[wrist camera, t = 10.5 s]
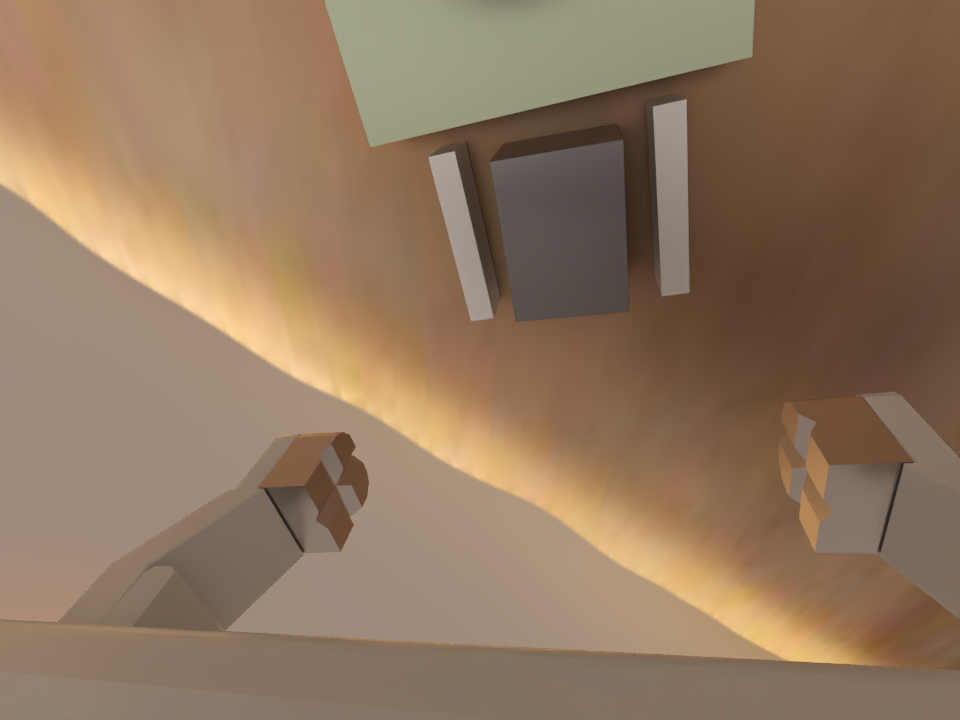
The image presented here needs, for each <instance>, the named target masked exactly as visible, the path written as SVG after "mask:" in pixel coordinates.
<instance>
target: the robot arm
mask: <svg viewBox="0 0 960 720" xmlns="http://www.w3.org/2000/svg"><path fill="white" fill-rule="evenodd" d="M781 422H782V424H783V426H784V428H785V430H786V432H787V434H786V435H785V436H784V437H783V438H782V439H781V440H780V441H779V451H778V459H779V467H780V474H781V477H782V480H783V484H784V486H785V488H786V491H787V493H788V495H789V497H790V498H792V499H793V500H795V501H796V502H798V503H799V504H800V513H799V519H800V521H801V524H802V526H803V528H804V530H805V532H806V534H807V536H808V538H809V541H810V543H811V545H812V547H813V549H814V551H815V552H819V553H859V554H880V557H881V558H882V559H883V560H884V561H886V562H887V563H888V564H890V565H891V566H892V567H893V568H895V569H896V570H897V571H898V572H900V573H901V574H902V575H904V576H905V577H906V578H907V579H909V580H910V581H911V582H912V583H914V584H915V585H916V586H918V587H919V588H920V589H921V590H923V591H924V592H925V593H926V594H928V595H929V596H930V597H932V598H933V599H934V600H935V601H937V602H938V603H939V604H940V605H942V606H943V607H944V608H946V609H947V610H948V611H949V612H951V613H952V614H953V615H954V616H956V617H957V618H958V619H960V458H959V457H958V456H957V455H956V453H955V452H954V451H953V450H952V449H951V448H950V447H949V446H948V445H947V444H946V443H945V442H944V441H943V440H942V439H941V437H940V436H939V435H938V434H937V433H936V432H935V431H934V430H933V429H932V428H931V427H930V426H929V425H928V424H927V422H926V421H925V420H924V419H923V418H922V417H921V416H920V415H919V414H918V413H917V412H916V411H915V410H914V409H913V408H912V406H911V405H910V404H909V403H908V402H907V401H906V400H905V399H904V398H903V397H902V396H901V395H900V394H898V393H895V392H893V391H892V392H881V393H870V394H860V395H855V396H848V397H835V398H821V399H808V400H795V401H785V403H784V406H783V408H782V416H781ZM355 448H356V446H355V444H354V443H353V440H352V438H351V437H350V435H349V434H346V433H344V432H336V433H314V434H302V435H300V434H298V435H283V436H281V437H278V438H276V439H275V440H274V442H273V443H272V444H271V445H270V447H269V448H268V449H267V450H266V452H265V453H264V454H263V455H262V457H261V458H260V459H259V460H258V462H257V463H256V464H255V465H254V467H253V468H252V469H251V470H250V472H249V473H248V474H247V475H246V477H245V478H244V479H243V480H242V482H241V483H240V484H239V485H238V487H237V488H236V489H235V490H228V491H226V492H225V493H223V494H222V495H220V496H218V497H217V498H215V499H214V500H212V501H210V502H209V503H207V504H206V505H204V506H202V507H201V508H199V509H198V510H196V511H194V512H193V513H191V514H190V515H188V516H186V517H185V518H184V519H182V520H180V521H179V522H177V523H176V524H174V525H173V526H171V527H169V528H168V529H166V530H164V531H163V532H161V533H159V534H158V535H156V536H155V537H153V538H151V539H150V540H148V541H147V542H145V543H144V544H142V545H140V546H139V547H137V548H136V549H134V550H132V551H131V552H129V553H128V554H126V555H124V556H123V557H121V558H120V559H118V560H116V561H115V562H113V563H112V564H111V565H110V566H109V567H108V568H107V569H106V570H105V571H104V572H103V573H102V575H101V576H100V577H99V578H98V579H97V580H96V581H95V582H94V583H93V584H92V585H91V586H90V588H89V589H88V590H87V591H86V592H85V593H84V594H83V595H82V596H81V597H80V599H78V601H77V602H76V603H75V604H74V605H73V606H72V607H71V608H70V609H69V610H68V612H67V613H66V614H65V615H64V616H63V617H62V618H61V619H60V620H59V621H58V622H40V621H39V622H38V621H21V620H2V619H0V720H960V670H945V669H926V668H907V667H888V666H869V665H850V664H832V663H813V662H794V661H774V660H755V659H736V658H718V657H700V656H699V657H698V656H681V655H662V654H643V653H624V652H603V651H586V650H567V649H547V648H527V647H509V646H490V645H470V644H451V643H432V642H431V643H430V642H413V641H393V640H377V639H359V638H341V637H322V636H302V635H286V634H266V633H248V632H230V631H228V632H227V631H225V630H226V629H227V628H228V627H229V626H230V625H231V624H232V623H233V622H235V620H237V619H238V618H239V617H240V616H241V615H242V614H243V613H244V612H245V611H246V610H247V609H248V608H249V607H250V606H251V605H252V604H253V603H254V602H255V601H256V600H257V599H258V598H259V597H260V596H262V595H263V594H264V593H265V592H266V591H267V590H268V589H269V588H270V587H271V586H272V585H273V584H274V583H275V582H276V581H277V580H278V579H279V578H280V577H281V576H282V575H283V574H284V573H285V572H286V571H287V570H288V569H289V568H291V567H292V566H293V565H294V564H295V563H296V562H297V561H298V560H299V559H300V558H301V557H302V556H303V553H315V552H340V551H341V550H342V548H343V546H344V543H345V541H346V540H347V538H348V535H349V533H350V531H351V529H352V527H353V525H354V524H353V521H352V518H351V516H352V515H353V514H354V513H356V512H357V511H358V510H359V509H361V508H362V506H363V504H364V502H365V500H366V497H367V493H368V485H369V481H368V475H367V471H366V468H365V466H364V464H363V462H361V461H360V460H359V459H357V458H356V457H355V456H353V454H354V451H355Z"/></svg>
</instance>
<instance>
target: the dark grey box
mask: <svg viewBox="0 0 960 720" xmlns="http://www.w3.org/2000/svg"><path fill="white" fill-rule="evenodd" d="M490 167H491V173H492V179H493V185H494V191H495V197H496V203H497V210H498V216H499V222H500V228H501V234H502V240H503V246H504V252H505V258H506V264H507V270H508V276H509V282H510V288H511V295H512V301H513V307H514V313H515V319H516V322H517V321H528V320H539V319H550V318H561V317H573V316H584V315H595V314H606V313H617V312H628V311H629V292H628V263H627V234H626V206H625V177H624V148H623V138H622V136H621V134H620V132H619V130H618V128H617V126H616V124H613V125H607V126H602V127H596V128H590V129H584V130H579V131H573V132H567V133H562V134H556V135H550V136H545V137H539V138H533V139H528V140H522V141H516V142H511V143H505V144H503V145H502V146H501V148H500V149H499V150H498V152H497V153H496V154H495V156H494V157H493V158H492V160H491V161H490Z"/></svg>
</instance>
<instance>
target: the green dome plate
mask: <svg viewBox="0 0 960 720" xmlns="http://www.w3.org/2000/svg"><path fill="white" fill-rule="evenodd" d="M324 1H325V4H326V8H327V11H328V14H329V17H330V20H331V24H332V27H333V30H334V33H335V36H336V40H337V43H338V46H339V49H340V52H341V55H342V59H343V62H344V65H345V68H346V71H347V75H348V78H349V81H350V84H351V87H352V91H353V94H354V97H355V100H356V103H357V107H358V110H359V113H360V116H361V119H362V122H363V126H364V129H365V132H366V135H367V138H368V142H369V145H370V147H374V146H378V145H383V144H387V143H391V142H395V141H399V140H404V139H408V138H412V137H416V136H421V135H425V134H429V133H433V132H437V131H442V130H446V129H450V128H454V127H459V126H463V125H467V124H471V123H475V122H480V121H484V120H488V119H492V118H497V117H501V116H505V115H509V114H513V113H518V112H522V111H526V110H530V109H534V108H539V107H543V106H547V105H551V104H556V103H560V102H564V101H568V100H572V99H577V98H581V97H585V96H589V95H594V94H598V93H602V92H606V91H610V90H615V89H619V88H623V87H627V86H632V85H636V84H640V83H644V82H648V81H653V80H657V79H661V78H665V77H669V76H674V75H678V74H682V73H686V72H691V71H695V70H699V69H703V68H707V67H712V66H716V65H720V64H724V63H729V62H733V61H737V60H741V59H745V58H750V57H752V53H753V29H754V5H755V0H324ZM646 119H647V138H648V157H649V176H650V195H651V213H652V232H653V251H654V270H655V278H656V281H657V284H658V287H659V290H660V293H661V296H669V295H677V294H685V293H690V285H689V222H688V158H687V99H685V98H683V97H681V96H679V95H677V94H673V95H669V96H664V97H660V98H656V99H651V100H647V101H646ZM428 159H429V162H430V166H431V170H432V174H433V178H434V182H435V185H436V189H437V193H438V197H439V201H440V204H441V208H442V212H443V216H444V220H445V224H446V227H447V231H448V235H449V239H450V243H451V247H452V250H453V254H454V258H455V262H456V266H457V269H458V273H459V277H460V281H461V285H462V289H463V292H464V296H465V300H466V304H467V308H468V312H469V315H470V319H471V321H477V320H484V319H492V318H494V316H495V313H496V310H497V307H498V303H499V300H500V293H499V289H498V284H497V280H496V275H495V271H494V266H493V262H492V257H491V253H490V248H489V244H488V240H487V235H486V231H485V226H484V222H483V217H482V213H481V208H480V204H479V199H478V195H477V190H476V186H475V181H474V177H473V172H472V168H471V163H470V159H469V154H468V150H467V145H466V142H463V143H458V144H454V145H449V146H445V147H441V148H440V149H438V150H437V151H436V152H434V153H433V154H432V155H430V156H429V157H428Z"/></svg>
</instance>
